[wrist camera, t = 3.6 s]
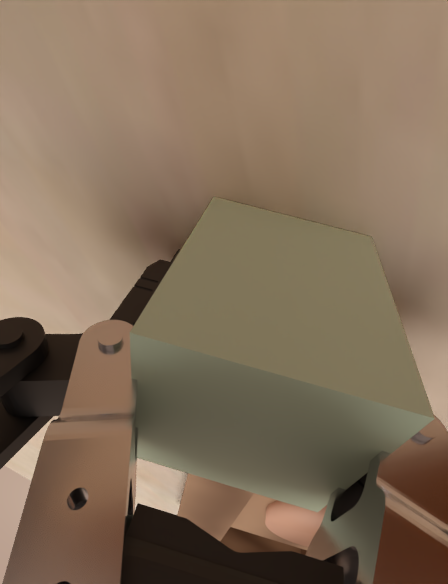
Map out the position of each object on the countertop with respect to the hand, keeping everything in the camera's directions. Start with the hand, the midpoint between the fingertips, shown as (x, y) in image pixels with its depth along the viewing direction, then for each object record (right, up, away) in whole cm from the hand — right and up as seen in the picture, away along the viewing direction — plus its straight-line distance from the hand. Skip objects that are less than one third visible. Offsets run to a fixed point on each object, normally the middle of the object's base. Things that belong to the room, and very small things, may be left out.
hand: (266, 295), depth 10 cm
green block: (0, +1, +1) cm, 1 cm away
